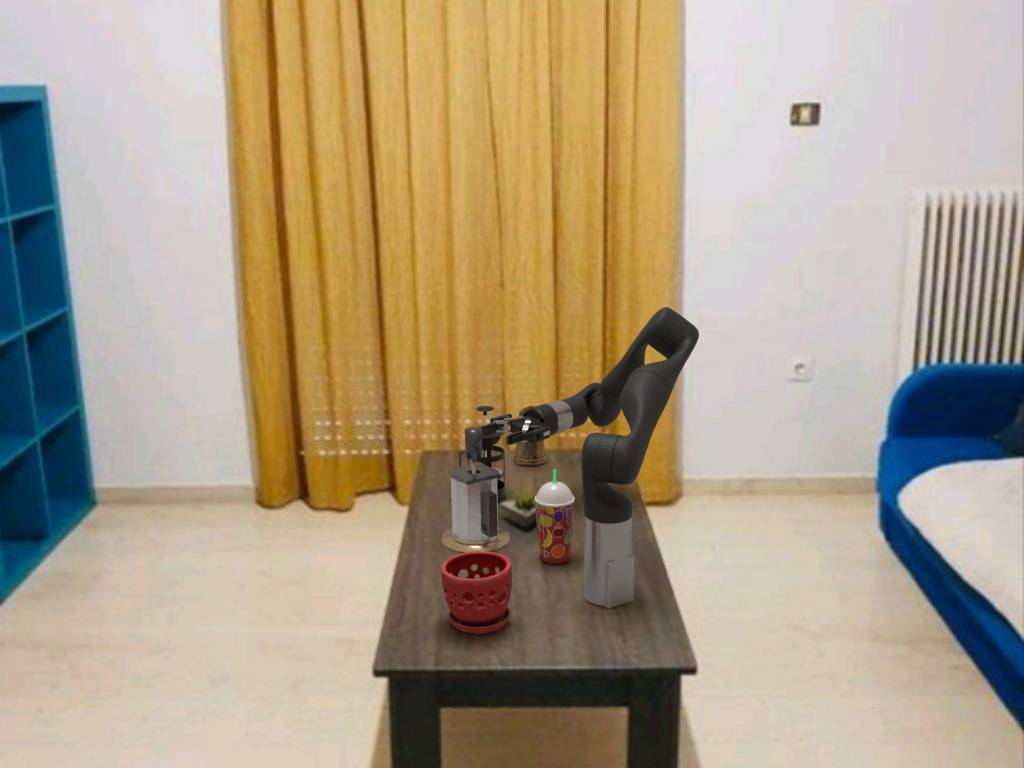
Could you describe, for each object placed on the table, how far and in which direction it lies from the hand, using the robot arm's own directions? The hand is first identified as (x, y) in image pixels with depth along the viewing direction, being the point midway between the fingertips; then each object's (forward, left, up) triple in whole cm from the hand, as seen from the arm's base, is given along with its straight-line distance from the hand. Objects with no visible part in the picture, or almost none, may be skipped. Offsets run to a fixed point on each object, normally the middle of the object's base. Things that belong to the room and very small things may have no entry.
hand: (494, 435), depth 241 cm
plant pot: (-34, +25, -23) cm, 48 cm away
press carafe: (-1, +6, -23) cm, 23 cm away
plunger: (-1, +6, -20) cm, 21 cm away
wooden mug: (+33, -30, -23) cm, 50 cm away
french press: (+19, -8, -23) cm, 31 cm away
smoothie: (-19, -3, -23) cm, 30 cm away
